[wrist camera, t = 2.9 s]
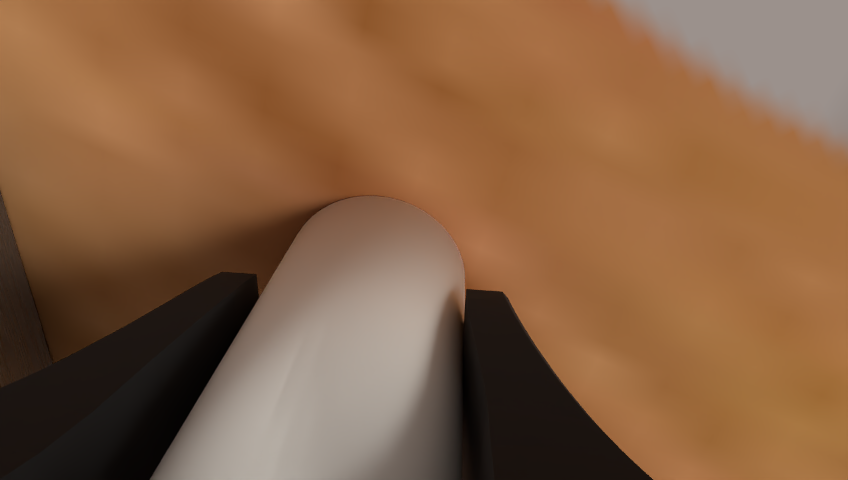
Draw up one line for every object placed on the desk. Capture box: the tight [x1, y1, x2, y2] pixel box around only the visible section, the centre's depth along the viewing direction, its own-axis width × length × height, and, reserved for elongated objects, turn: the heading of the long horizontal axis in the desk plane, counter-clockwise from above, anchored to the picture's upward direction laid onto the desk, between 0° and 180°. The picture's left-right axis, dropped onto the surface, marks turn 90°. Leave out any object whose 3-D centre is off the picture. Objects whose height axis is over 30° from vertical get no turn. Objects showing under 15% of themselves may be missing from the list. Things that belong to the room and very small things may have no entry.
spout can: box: [150, 196, 465, 480], centre depth 8 cm, size 4×4×9 cm
